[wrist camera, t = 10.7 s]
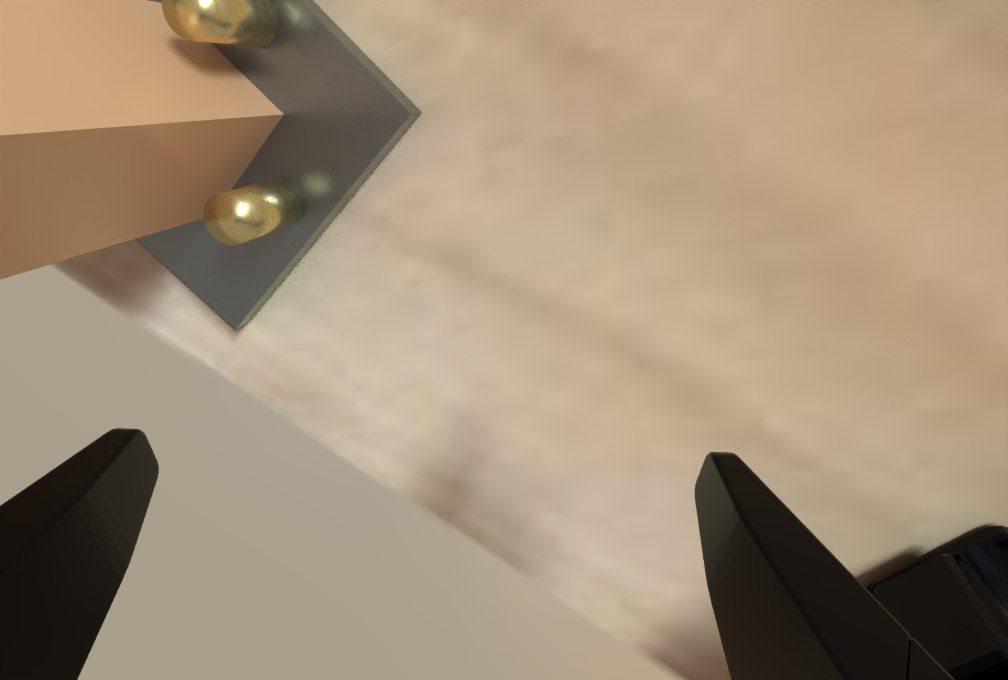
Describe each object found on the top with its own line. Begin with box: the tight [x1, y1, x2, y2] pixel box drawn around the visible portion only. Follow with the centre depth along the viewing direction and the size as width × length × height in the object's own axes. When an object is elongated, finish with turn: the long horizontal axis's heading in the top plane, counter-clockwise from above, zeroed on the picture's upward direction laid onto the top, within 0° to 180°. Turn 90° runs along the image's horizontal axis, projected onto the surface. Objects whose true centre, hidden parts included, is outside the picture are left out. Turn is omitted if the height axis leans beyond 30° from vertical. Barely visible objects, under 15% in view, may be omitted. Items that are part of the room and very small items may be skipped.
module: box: [0, 0, 284, 279], centre depth 14 cm, size 4×4×13 cm
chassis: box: [136, 0, 422, 330], centre depth 19 cm, size 10×10×4 cm
